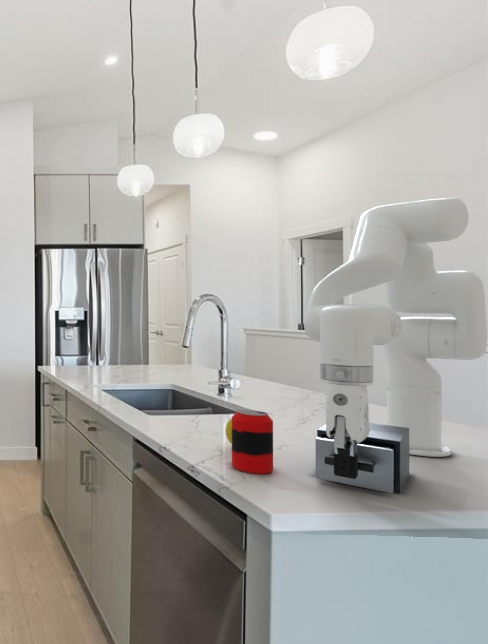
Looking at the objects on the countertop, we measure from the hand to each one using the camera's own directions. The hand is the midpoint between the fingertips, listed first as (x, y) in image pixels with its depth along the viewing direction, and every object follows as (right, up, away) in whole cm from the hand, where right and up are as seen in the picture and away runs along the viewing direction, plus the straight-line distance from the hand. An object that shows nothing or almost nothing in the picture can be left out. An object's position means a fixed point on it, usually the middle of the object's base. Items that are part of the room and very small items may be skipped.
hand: (345, 476), depth 90 cm
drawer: (+8, -3, +7) cm, 11 cm away
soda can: (-7, -4, +17) cm, 19 cm away
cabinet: (+13, -4, +12) cm, 18 cm away
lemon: (-1, -4, +32) cm, 32 cm away
